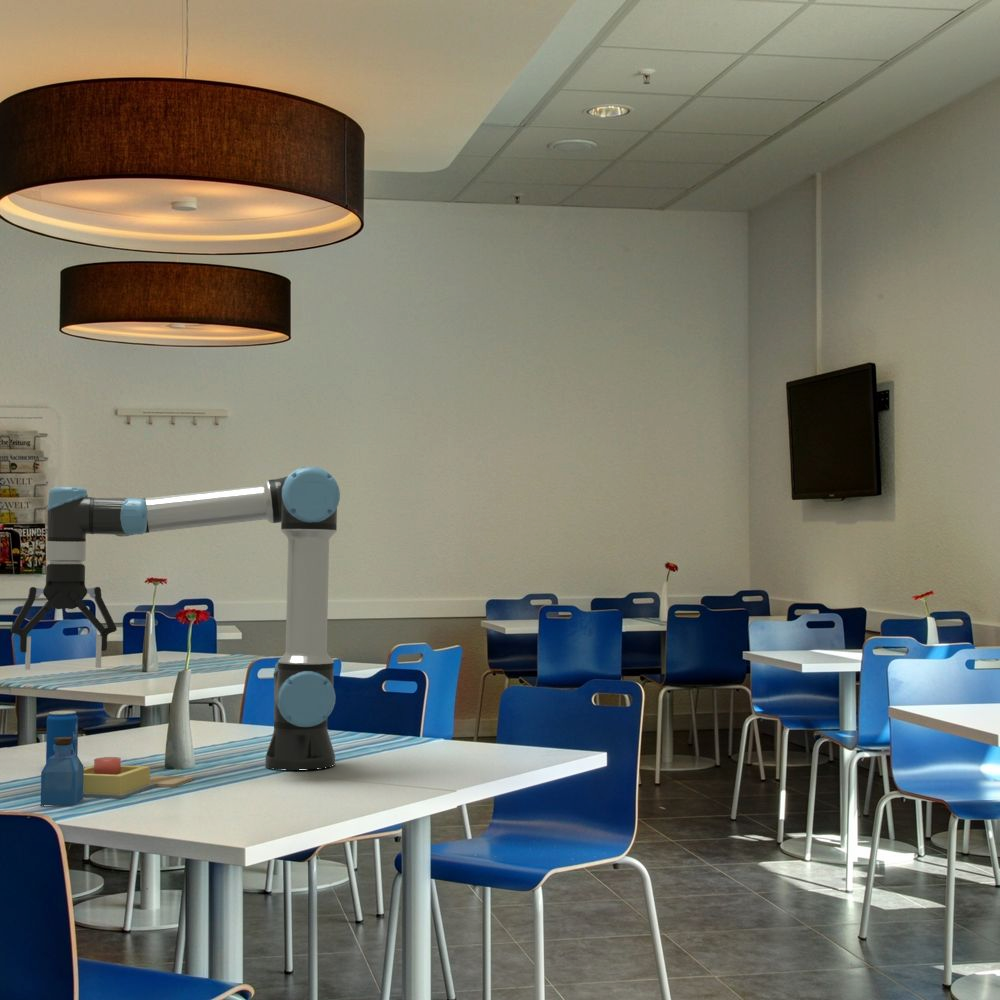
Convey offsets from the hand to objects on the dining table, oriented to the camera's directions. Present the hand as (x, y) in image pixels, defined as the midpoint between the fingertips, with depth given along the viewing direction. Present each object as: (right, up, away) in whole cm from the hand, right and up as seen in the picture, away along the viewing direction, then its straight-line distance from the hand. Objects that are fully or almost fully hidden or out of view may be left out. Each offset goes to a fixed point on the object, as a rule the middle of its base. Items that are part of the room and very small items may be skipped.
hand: (63, 668), depth 263 cm
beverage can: (-7, -24, +20) cm, 32 cm away
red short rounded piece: (+11, -20, -8) cm, 24 cm away
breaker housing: (+11, -23, -8) cm, 27 cm away
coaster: (+20, -23, +1) cm, 31 cm away
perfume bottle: (+7, -23, -21) cm, 31 cm away
